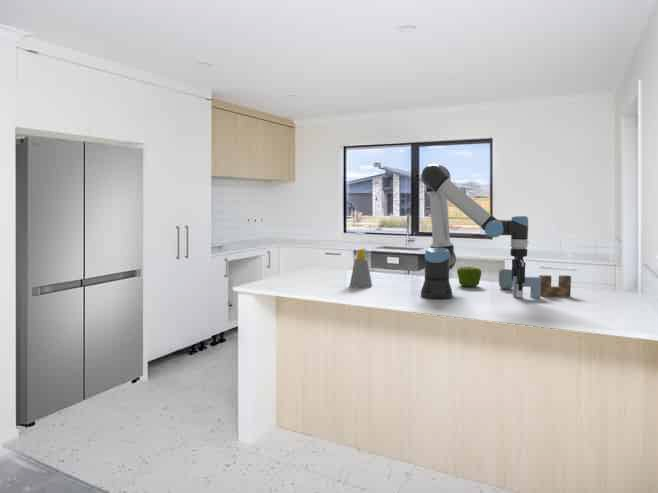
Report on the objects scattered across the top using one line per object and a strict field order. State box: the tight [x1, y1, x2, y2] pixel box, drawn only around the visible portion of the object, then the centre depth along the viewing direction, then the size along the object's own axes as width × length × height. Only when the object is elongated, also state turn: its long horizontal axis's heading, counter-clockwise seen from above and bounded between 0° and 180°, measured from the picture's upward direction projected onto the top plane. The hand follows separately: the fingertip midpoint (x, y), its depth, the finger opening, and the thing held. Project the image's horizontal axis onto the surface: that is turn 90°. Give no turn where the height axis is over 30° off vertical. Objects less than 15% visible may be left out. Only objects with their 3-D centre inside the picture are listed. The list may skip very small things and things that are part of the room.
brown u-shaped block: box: [538, 274, 572, 298], centre depth 245 cm, size 14×3×10 cm, turn 86°
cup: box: [498, 268, 513, 290], centre depth 265 cm, size 8×8×10 cm
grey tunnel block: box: [512, 276, 541, 299], centre depth 241 cm, size 12×3×10 cm, turn 86°
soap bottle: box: [349, 248, 373, 289], centre depth 274 cm, size 12×12×20 cm
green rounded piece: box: [456, 266, 482, 288], centre depth 274 cm, size 12×12×11 cm
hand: (517, 295), depth 242 cm, fingers open, 5 cm apart
